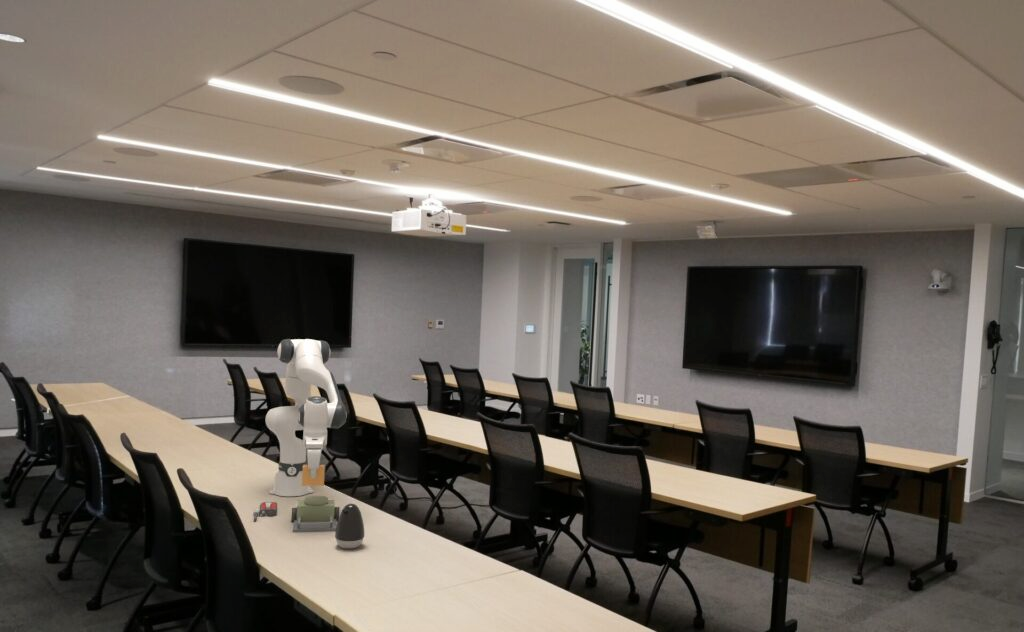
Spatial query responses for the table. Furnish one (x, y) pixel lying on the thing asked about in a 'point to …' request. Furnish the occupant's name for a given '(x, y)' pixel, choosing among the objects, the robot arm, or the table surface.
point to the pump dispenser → (350, 527)
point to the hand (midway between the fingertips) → (313, 476)
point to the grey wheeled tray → (315, 515)
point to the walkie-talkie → (266, 510)
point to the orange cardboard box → (313, 481)
